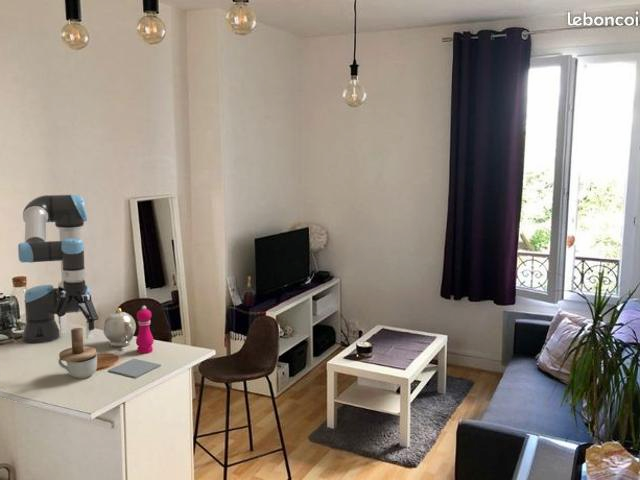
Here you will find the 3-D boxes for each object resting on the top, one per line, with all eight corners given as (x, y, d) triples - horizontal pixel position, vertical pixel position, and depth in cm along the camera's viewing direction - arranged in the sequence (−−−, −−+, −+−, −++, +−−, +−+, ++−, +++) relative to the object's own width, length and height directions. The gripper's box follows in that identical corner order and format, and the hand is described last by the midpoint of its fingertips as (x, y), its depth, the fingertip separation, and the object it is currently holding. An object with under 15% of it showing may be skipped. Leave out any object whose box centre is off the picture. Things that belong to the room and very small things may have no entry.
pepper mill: (132, 352, 248) (131, 306, 245) (143, 347, 255) (142, 302, 252) (146, 355, 246) (145, 309, 242) (157, 349, 252) (156, 304, 249)
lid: (51, 357, 219) (50, 331, 217) (79, 347, 231) (78, 322, 229) (76, 364, 214) (75, 337, 212) (103, 353, 225) (102, 327, 224)
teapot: (97, 343, 258) (95, 307, 255) (125, 336, 268) (124, 302, 265) (118, 354, 246) (116, 316, 243) (146, 346, 256) (145, 310, 253)
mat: (108, 371, 228) (108, 369, 228) (133, 359, 240) (133, 358, 240) (135, 378, 222) (135, 376, 222) (160, 366, 234) (160, 364, 234)
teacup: (102, 370, 228) (102, 351, 227) (89, 382, 217) (88, 361, 216) (68, 368, 229) (67, 349, 228) (53, 379, 219) (52, 359, 217)
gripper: (41, 278, 219) (45, 333, 222) (91, 286, 209) (93, 343, 212) (58, 274, 226) (61, 327, 229) (107, 282, 215) (109, 337, 219)
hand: (76, 335), depth 221 cm, fingers open, 13 cm apart
